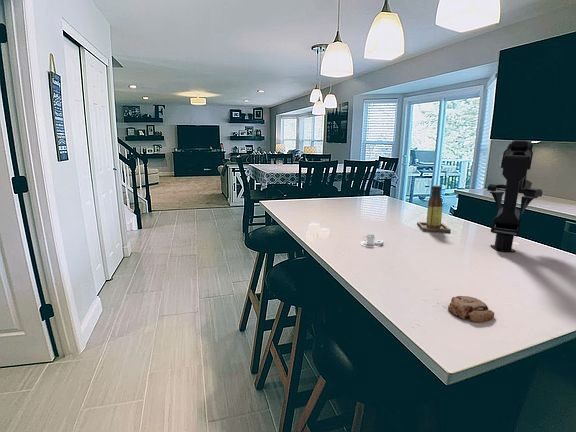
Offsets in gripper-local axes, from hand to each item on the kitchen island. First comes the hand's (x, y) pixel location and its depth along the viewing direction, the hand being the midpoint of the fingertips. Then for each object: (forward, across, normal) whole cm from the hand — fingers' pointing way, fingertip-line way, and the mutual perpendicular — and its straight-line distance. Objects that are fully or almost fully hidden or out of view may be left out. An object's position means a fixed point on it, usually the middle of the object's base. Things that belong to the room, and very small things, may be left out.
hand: (509, 210), depth 139 cm
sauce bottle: (+13, +26, +12) cm, 32 cm away
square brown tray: (+13, +27, +12) cm, 32 cm away
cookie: (+13, -34, +69) cm, 78 cm away
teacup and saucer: (+14, +16, +56) cm, 59 cm away
